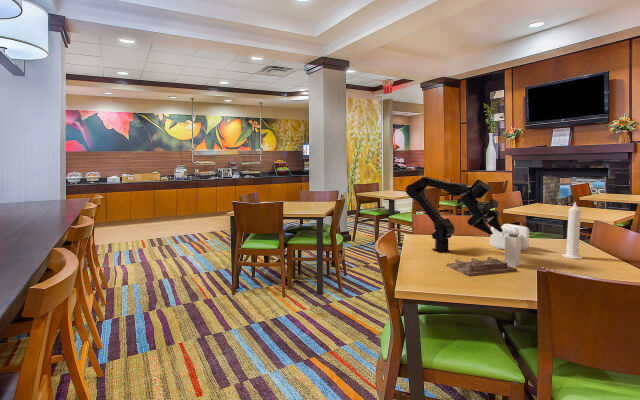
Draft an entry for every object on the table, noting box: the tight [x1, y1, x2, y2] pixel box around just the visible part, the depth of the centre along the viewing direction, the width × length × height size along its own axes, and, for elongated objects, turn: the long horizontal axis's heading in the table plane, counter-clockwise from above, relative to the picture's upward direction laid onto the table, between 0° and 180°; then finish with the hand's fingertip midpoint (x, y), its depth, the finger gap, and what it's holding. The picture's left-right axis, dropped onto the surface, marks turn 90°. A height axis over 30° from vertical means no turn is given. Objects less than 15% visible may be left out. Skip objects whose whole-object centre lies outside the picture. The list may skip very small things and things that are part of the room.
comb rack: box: [446, 256, 518, 277], centre depth 147 cm, size 14×22×3 cm, turn 104°
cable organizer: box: [490, 223, 530, 251], centre depth 180 cm, size 15×11×12 cm
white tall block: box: [503, 234, 522, 268], centre depth 152 cm, size 4×4×13 cm
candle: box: [562, 201, 583, 260], centre depth 163 cm, size 7×7×25 cm
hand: (497, 232), depth 156 cm, fingers open, 9 cm apart
